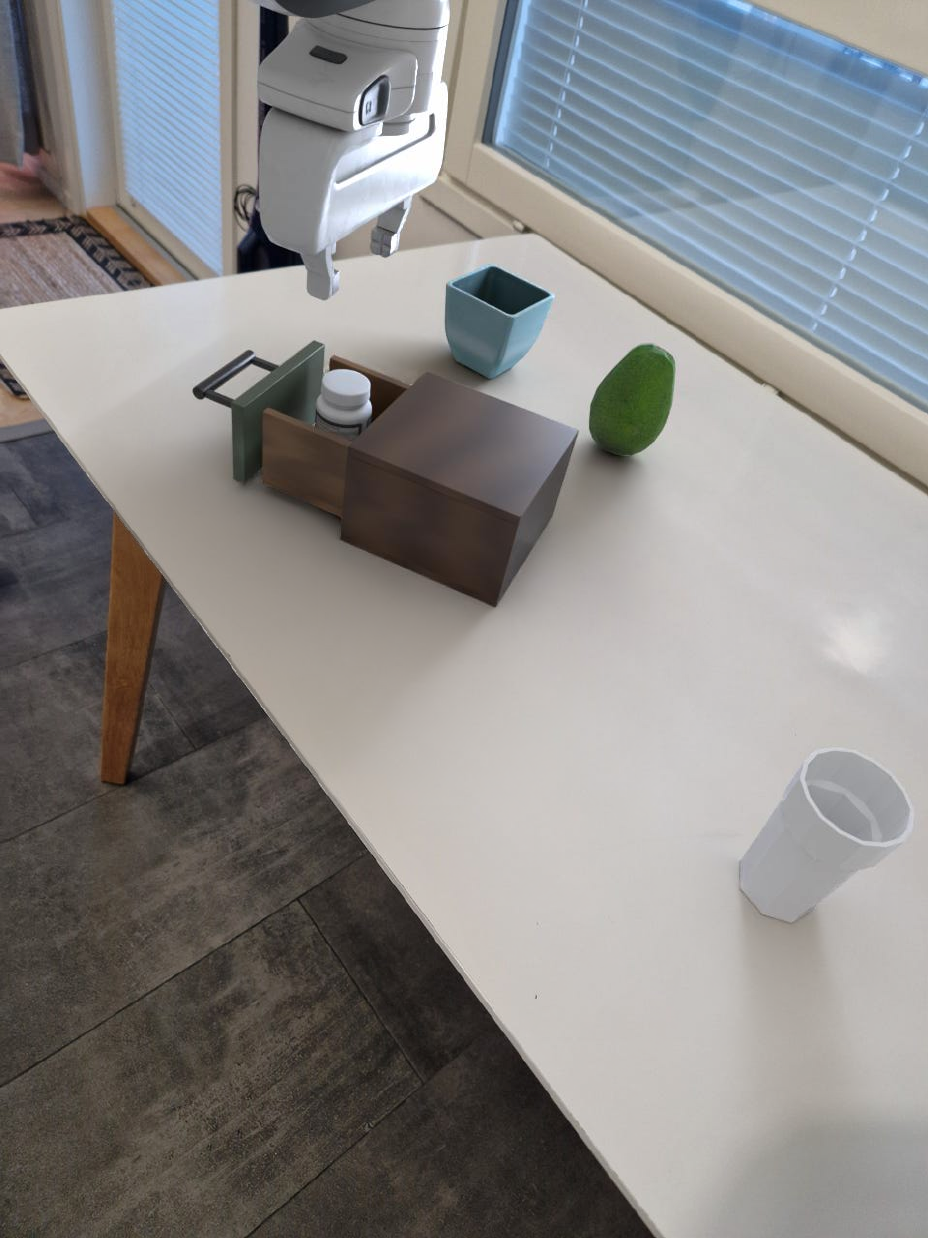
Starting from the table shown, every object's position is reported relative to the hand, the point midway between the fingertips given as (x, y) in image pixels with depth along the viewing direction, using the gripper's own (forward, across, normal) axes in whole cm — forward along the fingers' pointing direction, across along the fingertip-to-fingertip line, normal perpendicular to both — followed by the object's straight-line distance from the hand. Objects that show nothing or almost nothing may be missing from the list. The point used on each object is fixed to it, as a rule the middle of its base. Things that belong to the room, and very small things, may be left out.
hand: (354, 272), depth 65 cm
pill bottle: (+18, 0, 0) cm, 18 cm away
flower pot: (+20, -29, +3) cm, 35 cm away
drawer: (+19, -1, -3) cm, 19 cm away
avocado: (+20, -22, +21) cm, 36 cm away
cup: (+20, +20, +44) cm, 53 cm away
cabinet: (+20, 0, +11) cm, 23 cm away
